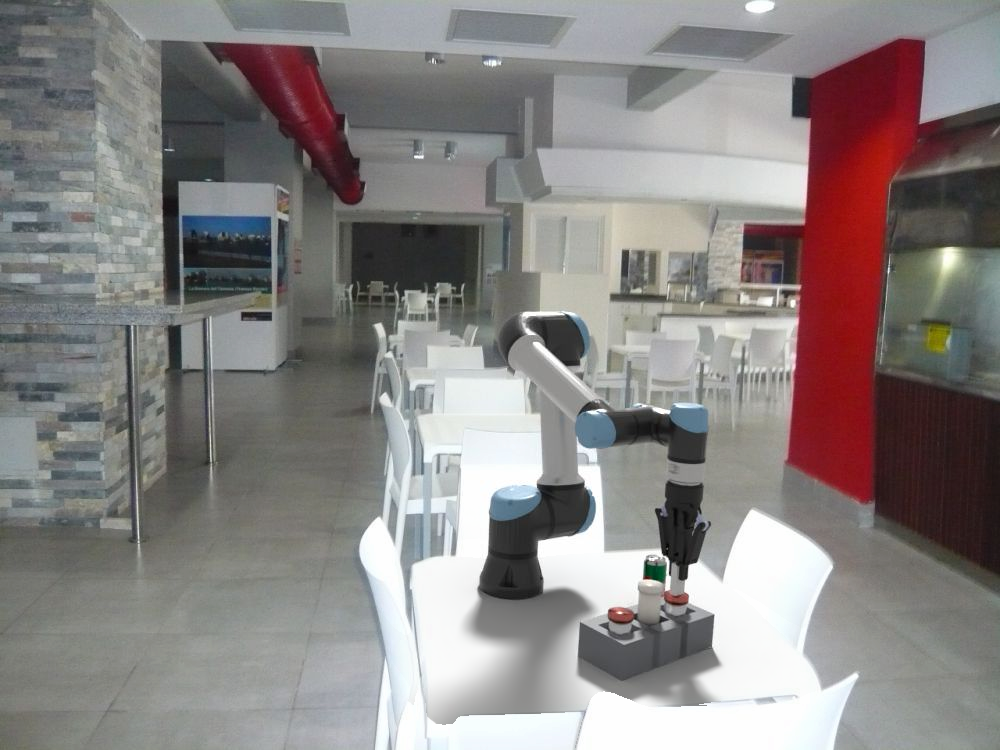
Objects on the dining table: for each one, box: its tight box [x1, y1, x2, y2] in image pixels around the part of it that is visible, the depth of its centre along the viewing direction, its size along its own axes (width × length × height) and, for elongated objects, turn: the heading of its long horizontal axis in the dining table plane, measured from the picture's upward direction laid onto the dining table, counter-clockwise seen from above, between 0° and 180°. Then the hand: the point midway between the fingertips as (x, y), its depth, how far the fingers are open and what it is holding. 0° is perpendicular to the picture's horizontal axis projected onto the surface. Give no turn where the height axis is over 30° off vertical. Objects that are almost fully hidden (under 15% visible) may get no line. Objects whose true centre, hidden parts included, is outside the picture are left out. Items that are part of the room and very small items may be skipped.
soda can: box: [642, 554, 668, 597], centre depth 195 cm, size 5×5×12 cm
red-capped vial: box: [607, 606, 634, 636], centre depth 169 cm, size 5×5×9 cm
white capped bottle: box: [637, 579, 664, 627], centre depth 174 cm, size 5×5×9 cm
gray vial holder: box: [577, 597, 715, 681], centre depth 174 cm, size 26×12×7 cm, turn 128°
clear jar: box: [664, 589, 690, 618], centre depth 179 cm, size 5×5×9 cm
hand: (676, 593), depth 178 cm, fingers closed
